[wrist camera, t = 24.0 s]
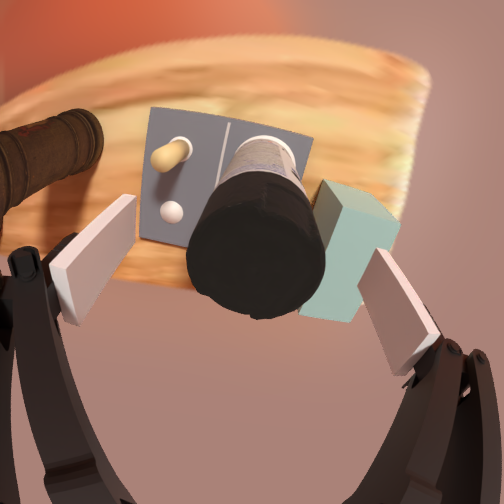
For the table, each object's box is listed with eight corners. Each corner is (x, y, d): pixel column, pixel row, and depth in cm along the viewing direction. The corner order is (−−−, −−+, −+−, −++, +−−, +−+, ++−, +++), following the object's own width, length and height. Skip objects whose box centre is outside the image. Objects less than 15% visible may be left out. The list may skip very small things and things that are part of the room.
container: (115, 143, 29) (12, 193, 14) (76, 183, 32) (-14, 247, 16) (82, 94, 26) (-27, 114, 10) (46, 137, 28) (-50, 180, 13)
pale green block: (292, 269, 38) (298, 314, 30) (323, 178, 31) (343, 206, 23) (335, 278, 38) (349, 322, 31) (371, 193, 32) (401, 224, 24)
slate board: (141, 233, 36) (120, 260, 30) (154, 106, 27) (127, 109, 21) (274, 261, 37) (275, 295, 31) (312, 137, 29) (325, 147, 23)
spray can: (271, 205, 32) (278, 339, 15) (220, 176, 30) (163, 287, 13) (303, 158, 29) (361, 252, 12) (250, 125, 27) (226, 169, 10)
